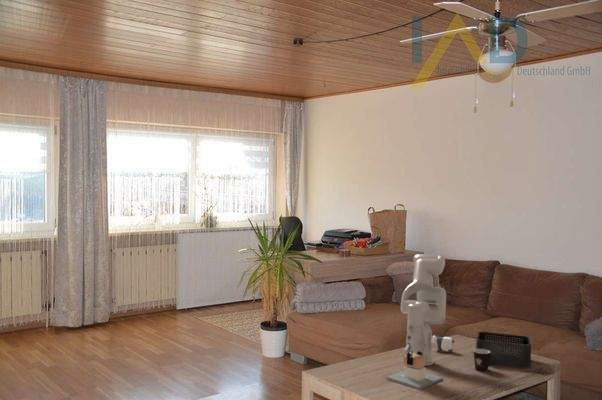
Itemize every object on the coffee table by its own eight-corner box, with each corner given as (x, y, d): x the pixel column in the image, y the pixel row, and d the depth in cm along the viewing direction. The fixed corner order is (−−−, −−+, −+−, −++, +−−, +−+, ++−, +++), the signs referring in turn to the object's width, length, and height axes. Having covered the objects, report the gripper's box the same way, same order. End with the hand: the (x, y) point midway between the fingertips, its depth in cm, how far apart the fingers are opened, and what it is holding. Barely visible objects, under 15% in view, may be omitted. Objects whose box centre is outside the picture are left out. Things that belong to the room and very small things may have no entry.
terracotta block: (403, 365, 290) (403, 355, 290) (408, 362, 295) (408, 352, 295) (421, 368, 285) (421, 358, 285) (425, 365, 290) (425, 355, 290)
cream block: (403, 375, 291) (403, 366, 291) (410, 373, 296) (410, 363, 296) (418, 380, 285) (418, 370, 285) (425, 377, 289) (425, 367, 289)
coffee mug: (469, 368, 308) (469, 349, 308) (482, 366, 311) (483, 348, 311) (484, 375, 297) (484, 356, 297) (497, 373, 301) (497, 354, 300)
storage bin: (530, 359, 325) (530, 335, 325) (531, 369, 307) (531, 344, 307) (477, 353, 335) (477, 330, 335) (475, 363, 317) (475, 339, 317)
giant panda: (454, 351, 338) (454, 335, 338) (453, 354, 333) (453, 337, 333) (429, 348, 344) (429, 332, 344) (427, 351, 339) (427, 334, 339)
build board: (386, 379, 291) (386, 376, 291) (409, 370, 305) (409, 367, 304) (419, 389, 276) (419, 386, 276) (442, 379, 290) (442, 377, 290)
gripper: (410, 332, 281) (410, 368, 281) (431, 326, 293) (430, 361, 293) (398, 329, 286) (398, 364, 287) (418, 323, 298) (418, 357, 299)
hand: (414, 362), depth 290 cm, fingers open, 7 cm apart
